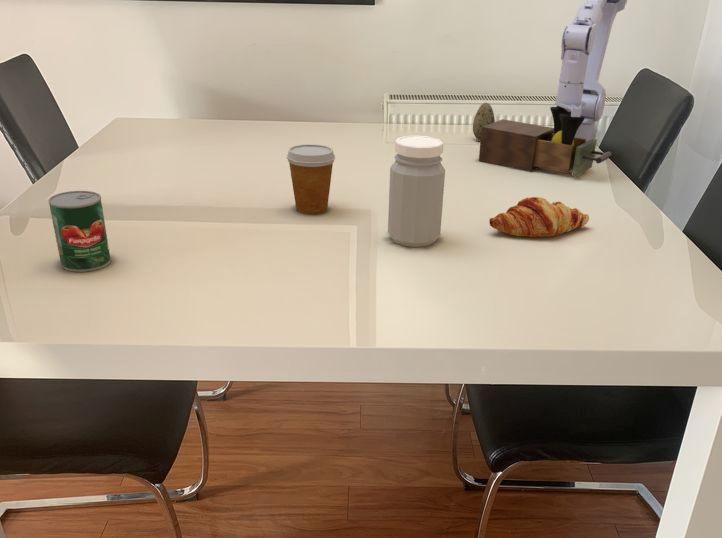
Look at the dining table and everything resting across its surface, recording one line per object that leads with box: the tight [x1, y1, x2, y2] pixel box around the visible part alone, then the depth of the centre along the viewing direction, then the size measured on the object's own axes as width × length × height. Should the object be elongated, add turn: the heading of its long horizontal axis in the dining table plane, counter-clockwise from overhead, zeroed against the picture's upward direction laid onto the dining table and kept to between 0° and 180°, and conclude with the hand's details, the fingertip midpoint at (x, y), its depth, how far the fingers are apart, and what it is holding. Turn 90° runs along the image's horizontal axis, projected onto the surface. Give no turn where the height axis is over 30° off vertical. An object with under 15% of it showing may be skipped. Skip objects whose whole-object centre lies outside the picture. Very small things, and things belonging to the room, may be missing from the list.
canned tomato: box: [48, 190, 112, 273], centre depth 123 cm, size 8×8×11 cm
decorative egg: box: [472, 102, 496, 142], centre depth 204 cm, size 6×6×10 cm
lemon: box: [551, 130, 574, 149], centre depth 181 cm, size 6×6×8 cm
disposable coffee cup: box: [286, 143, 336, 215], centre depth 150 cm, size 10×10×12 cm
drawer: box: [533, 133, 613, 177], centre depth 181 cm, size 18×10×7 cm, turn 56°
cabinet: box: [478, 118, 554, 173], centre depth 187 cm, size 14×11×8 cm
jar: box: [387, 135, 446, 248], centre depth 136 cm, size 10×10×18 cm
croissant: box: [489, 196, 590, 238], centre depth 145 cm, size 21×10×8 cm, turn 108°
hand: (562, 141), depth 181 cm, fingers closed on drawer, 6 cm apart
